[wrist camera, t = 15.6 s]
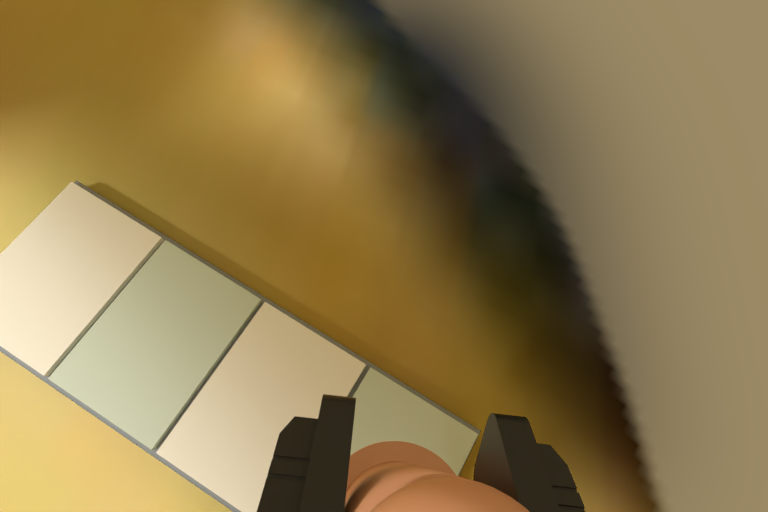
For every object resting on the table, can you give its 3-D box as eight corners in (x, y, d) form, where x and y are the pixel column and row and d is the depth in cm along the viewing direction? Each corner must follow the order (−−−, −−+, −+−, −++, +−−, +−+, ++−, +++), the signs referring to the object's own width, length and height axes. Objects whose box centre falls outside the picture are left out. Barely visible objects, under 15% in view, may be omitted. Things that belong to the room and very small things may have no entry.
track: (-43, 317, 20) (-60, 312, 19) (83, 187, 22) (73, 176, 21) (387, 612, 17) (389, 621, 16) (476, 430, 20) (482, 430, 19)
